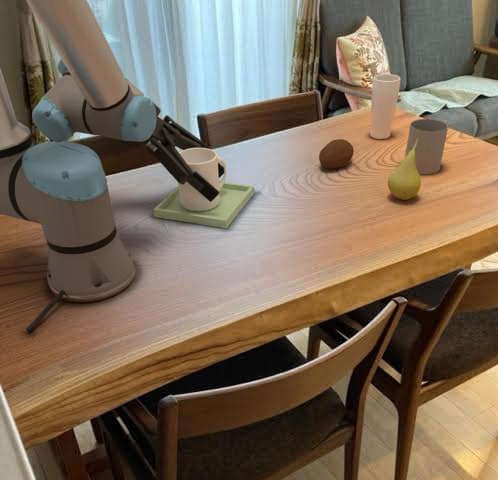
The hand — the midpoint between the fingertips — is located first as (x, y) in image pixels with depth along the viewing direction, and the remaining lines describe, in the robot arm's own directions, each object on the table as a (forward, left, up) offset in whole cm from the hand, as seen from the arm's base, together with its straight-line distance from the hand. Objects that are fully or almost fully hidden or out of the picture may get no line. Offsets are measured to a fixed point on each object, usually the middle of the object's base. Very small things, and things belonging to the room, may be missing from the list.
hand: (218, 185), depth 115 cm
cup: (+32, -39, -5) cm, 51 cm away
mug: (0, +3, -4) cm, 5 cm away
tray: (-1, +3, -5) cm, 5 cm away
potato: (+27, -19, -5) cm, 33 cm away
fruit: (+15, -37, -5) cm, 40 cm away
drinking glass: (+49, -26, -5) cm, 56 cm away
